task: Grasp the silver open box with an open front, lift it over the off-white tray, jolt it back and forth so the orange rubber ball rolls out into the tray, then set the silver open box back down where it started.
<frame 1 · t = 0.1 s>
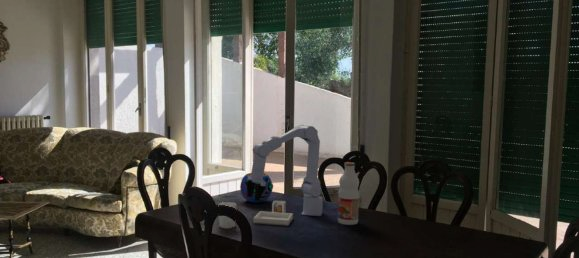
hand: (253, 198, 214), 11 cm above the table, tool pointing down, fingers open, 7 cm apart
fruit juice: (347, 222, 216), on the table
ceramic pot: (256, 202, 253), on the table
tray: (273, 220, 216), on the table
ball: (279, 210, 228), point 2 cm above the table, touching silver open box
silver open box: (278, 214, 228), on the table, touching ball
white cup: (227, 226, 206), on the table
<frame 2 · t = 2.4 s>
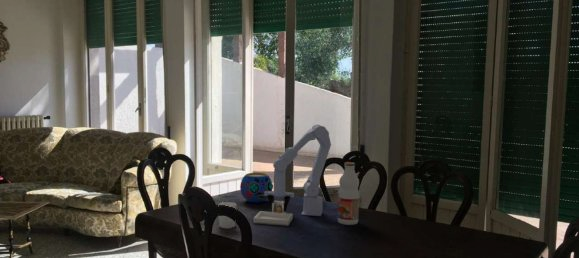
hand: (278, 210, 228), 2 cm above the table, tool pointing down, fingers closed on silver open box, 6 cm apart
ball: (278, 210, 227), point 2 cm above the table, tilted 38°, touching silver open box
silver open box: (278, 214, 228), on the table, touching ball, gripper
everything else where it was.
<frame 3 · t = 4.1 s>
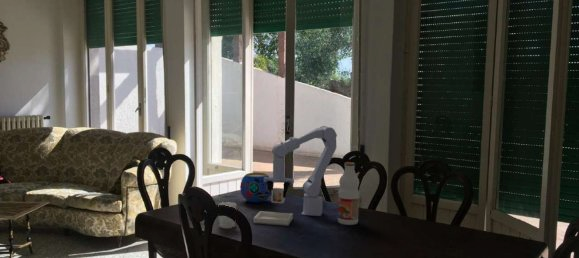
hand: (278, 197, 226), 9 cm above the table, tool pointing down, fingers closed on silver open box, 6 cm apart
ball: (278, 197, 225), point 9 cm above the table, tilted 28°, touching silver open box
silver open box: (278, 201, 226), point 7 cm above the table, touching ball, gripper
everything else where it was.
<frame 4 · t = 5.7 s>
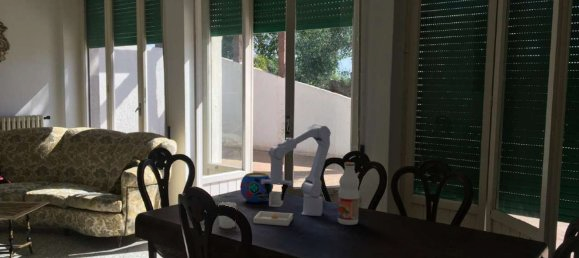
hand: (276, 199, 220), 9 cm above the table, tool pointing down, fingers closed on silver open box, 6 cm apart
ball: (274, 218, 213), point 2 cm above the table, tilted 71°, touching tray
silver open box: (276, 205, 220), point 6 cm above the table, touching gripper
everything else where it was.
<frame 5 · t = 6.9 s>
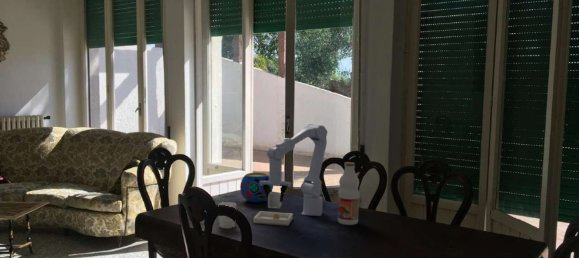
hand: (274, 201, 217), 9 cm above the table, tool pointing down, fingers closed on silver open box, 6 cm apart
ball: (276, 217, 214), point 2 cm above the table, tilted 130°, touching tray
silver open box: (275, 206, 218), point 6 cm above the table, touching gripper
everything else where it was.
when the fingers open (3 cm above the table, at t = 9.2 s): silver open box stays where it is, on the table.
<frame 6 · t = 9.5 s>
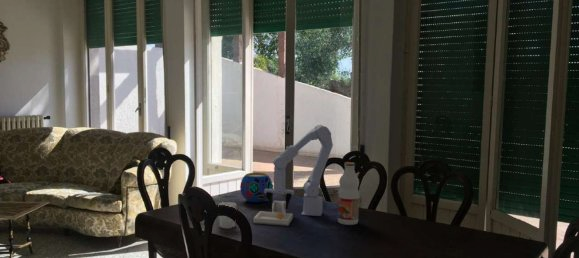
hand: (278, 208, 228), 3 cm above the table, tool pointing down, fingers open, 7 cm apart
ball: (279, 215, 217), point 2 cm above the table, tilted 101°, touching tray
silver open box: (278, 214, 228), on the table
everything else where it was.
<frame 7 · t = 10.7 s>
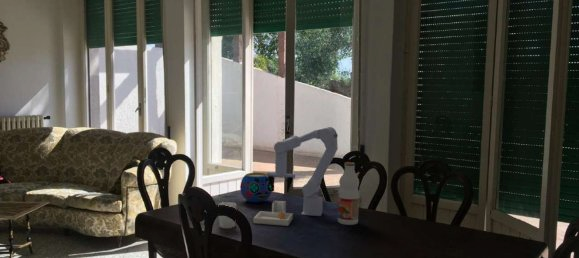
hand: (280, 191, 235), 9 cm above the table, tool pointing down, fingers open, 7 cm apart
ball: (281, 215, 219), point 2 cm above the table, tilted 42°, touching tray
everything else where it was.
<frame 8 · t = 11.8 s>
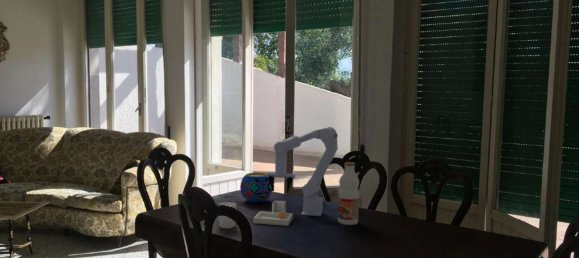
hand: (280, 191, 235), 9 cm above the table, tool pointing down, fingers open, 7 cm apart
ball: (281, 214, 219), point 2 cm above the table, tilted 37°, touching tray
everything else where it was.
at the end: ball inside the target area on the tray (4.8 cm from its centre), point 2.1 cm above the tray's base; silver open box inside the target area (0.2 cm from its centre), on the table; silver open box tilted 0° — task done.
